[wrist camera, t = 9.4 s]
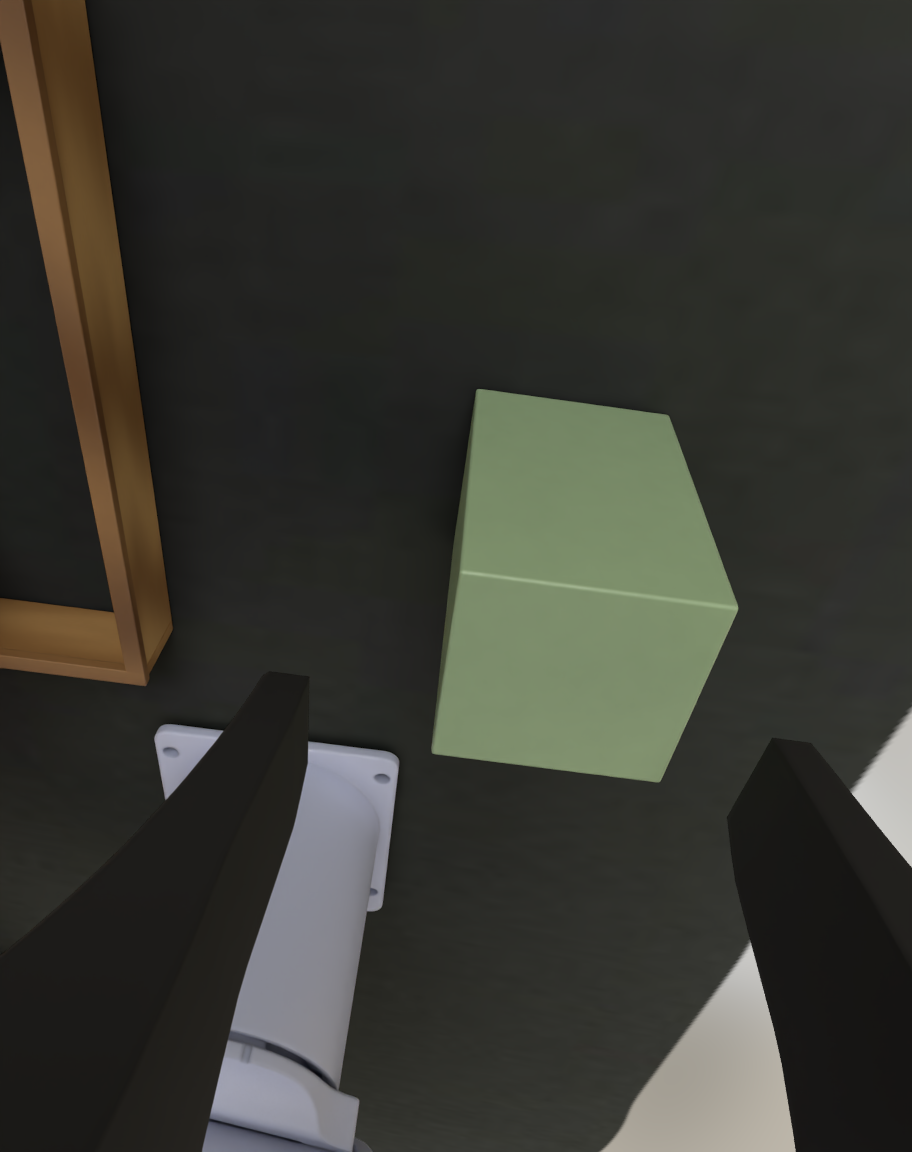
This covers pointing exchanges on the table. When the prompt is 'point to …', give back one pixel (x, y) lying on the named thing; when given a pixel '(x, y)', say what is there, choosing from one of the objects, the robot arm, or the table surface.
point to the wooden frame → (85, 354)
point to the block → (577, 591)
